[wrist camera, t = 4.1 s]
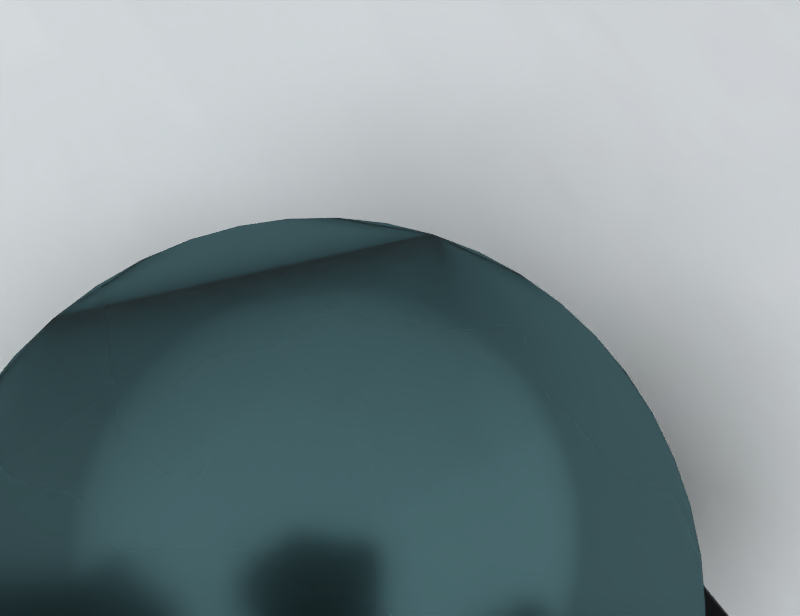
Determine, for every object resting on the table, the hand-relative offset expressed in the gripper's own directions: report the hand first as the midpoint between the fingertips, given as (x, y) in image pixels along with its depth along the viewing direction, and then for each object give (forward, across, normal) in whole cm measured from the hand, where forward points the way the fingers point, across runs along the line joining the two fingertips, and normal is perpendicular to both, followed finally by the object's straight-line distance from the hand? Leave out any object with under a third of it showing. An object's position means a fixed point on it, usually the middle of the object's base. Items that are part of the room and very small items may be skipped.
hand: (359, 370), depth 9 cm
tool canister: (+4, 0, +6) cm, 7 cm away
